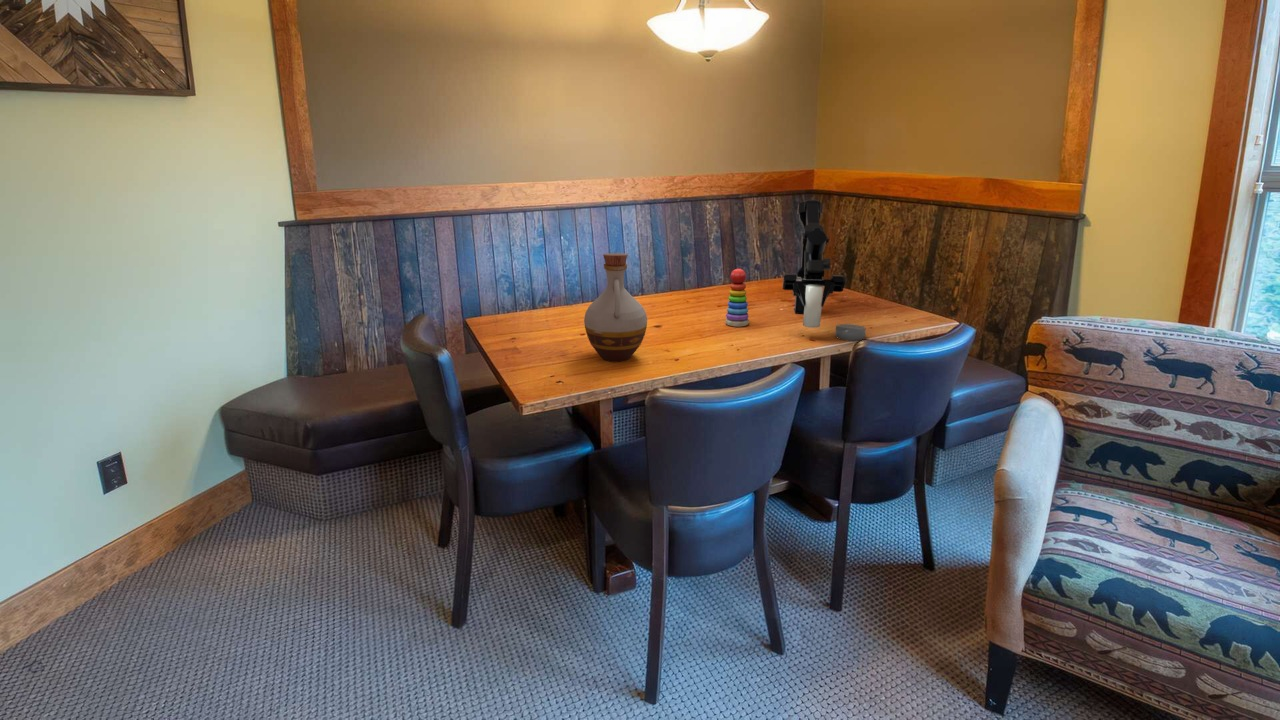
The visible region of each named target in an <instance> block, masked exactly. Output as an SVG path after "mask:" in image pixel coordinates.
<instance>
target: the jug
mask: <svg viewBox="0 0 1280 720" xmlns="http://www.w3.org/2000/svg"><path fill="white" fill-rule="evenodd" d="M602 256H603V260H604V262H605V263H603V268H604V270H605V274H606V281H607V285H606V288H605V290H604V291H603V292H602V293H601V294H600V295H598V297H597V298H595V299H594V301H592V302H591V304H590V305H588V308H587V309H586V310H585V313H584V317H583V318H584V320H583V321H584V322H583V323H584V329H585V333H586V336H587V339H588V341H589V343H590V345H591V347H593V349H594V350H595V352H596V353H597V354H598V355H599V356H600V357H601V359H603V360H604V361H606V362H607V361H608V362H612V363H614V362H624V361H628V360H630V359H631V358H632V356H633V355H634V354H635V353H636V351H637V350H639V348H640V346H641V345H642V343H643V340H644V338H645V335H646V331H647V328H648V315H647V312H646V310H645V308H644V306H643V305H642V304H641V303H640V302H639V301H638V300H637V299H636V298H635V297H634V296H632V295H631V293H630V292H629V291H628V290H627V289H626V288H625V285H624V283H625V273H626V270H627V268H628V263H627V260H628V253H621V252H620V253H619V252H618V253H617V252H614V253H613V252H612V253H611V252H610V253H604V254H602Z"/></svg>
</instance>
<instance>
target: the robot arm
mask: <svg viewBox="0 0 1280 720" xmlns="http://www.w3.org/2000/svg"><path fill="white" fill-rule="evenodd" d="M823 211H824V203H823V202H821V200H818V199H806V200H804V201H800V202H799V203H798V204H797V211H796V213H797V216H798V222H799V223H800V226H801V227H802V233H801V239H800V244H801V261H800V262H801V263H800V269H799V270H798V271H797V273H785V274H784V275H783V281H782V290H785V291H792V295H793V297H795V299H794V307H793V311H794V313H795V314H803V315H804V306H805V293H806V285H810V284H815V285H821V286H823V297H822V308H824V305H825V303H826V300H827V298H828V296H829V295H830V294H833V293H842V292H844V288H845V285H846V277H845V276H844V275H839V274H838V275H836V274H835V275H834V274H832V275H831V279H826V278H825V279H824V277H825V271H829V270H830V269H831V258H824V254H823V253H824V252H825V249H826V248H825V247H826V245H827V243H829V241H830V240H829V237H828V236H827V234H826V233H825V228H824V226H822V225H821V224H820V218H821V216H822V215H823Z"/></svg>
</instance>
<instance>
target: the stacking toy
mask: <svg viewBox="0 0 1280 720" xmlns="http://www.w3.org/2000/svg"><path fill="white" fill-rule="evenodd" d="M746 278H747V274H746V272H745V271H744V269H742V268H736V269H734V270H732V271H731V273H730V279H731V281H732V283H731V284H730V287H729V288H730V290H729V293H728V294H729V296H728V301H727V305H728V306H727V309H726V312H727V313H726V314H725V317H726V318H725V322H724V323H725V324H726V325H727V326H730V327H735V328H736V327H739V328H741V327H746V326H748V325H749V324H750V320H749V313H748V312H749V308H748V304H749V303H748V302H747V299H748V297H747V291H746V287H747V286H746V283H744V282H745V281H746Z"/></svg>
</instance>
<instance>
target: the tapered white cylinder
mask: <svg viewBox="0 0 1280 720" xmlns="http://www.w3.org/2000/svg"><path fill="white" fill-rule="evenodd" d="M823 291H824V286H821V285H815V284H810V285H806V293H805V306H804V314H803V321H802V322H803V323H802V325H803V326H804V327H807V328H820V326H821V318H822V308H823V307H822V298H823Z"/></svg>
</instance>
